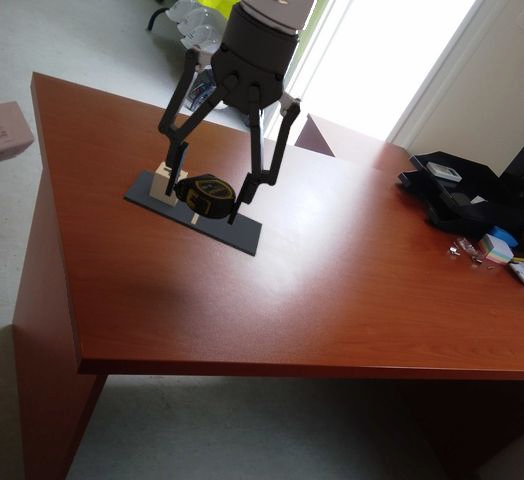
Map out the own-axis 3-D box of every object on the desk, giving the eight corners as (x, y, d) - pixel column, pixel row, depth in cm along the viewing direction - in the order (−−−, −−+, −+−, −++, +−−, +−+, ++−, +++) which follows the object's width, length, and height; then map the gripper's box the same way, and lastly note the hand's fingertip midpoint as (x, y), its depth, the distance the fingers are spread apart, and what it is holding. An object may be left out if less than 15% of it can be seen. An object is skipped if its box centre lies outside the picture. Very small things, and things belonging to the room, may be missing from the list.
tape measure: (203, 190, 65) (212, 167, 62) (238, 219, 63) (247, 196, 61) (169, 198, 60) (176, 173, 57) (205, 230, 58) (215, 205, 56)
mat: (123, 198, 82) (124, 195, 82) (143, 171, 91) (143, 168, 90) (254, 256, 88) (255, 253, 87) (261, 226, 96) (262, 223, 96)
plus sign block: (148, 195, 85) (155, 171, 82) (156, 184, 89) (163, 160, 85) (174, 207, 86) (181, 183, 83) (180, 195, 90) (188, 172, 86)
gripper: (160, -35, 42) (115, 183, 57) (359, 75, 46) (268, 252, 61) (181, -41, 47) (135, 160, 62) (357, 59, 51) (274, 224, 66)
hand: (201, 205), depth 61 cm, fingers closed on tape measure, 8 cm apart
